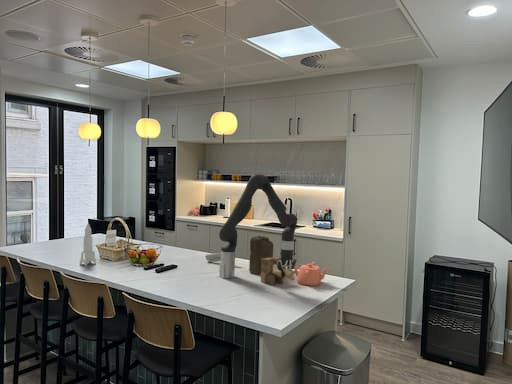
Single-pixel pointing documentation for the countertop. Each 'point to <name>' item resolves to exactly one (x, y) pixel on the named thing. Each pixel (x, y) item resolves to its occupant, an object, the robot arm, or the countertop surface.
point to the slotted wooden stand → (269, 271)
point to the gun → (214, 257)
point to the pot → (309, 274)
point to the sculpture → (88, 247)
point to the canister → (259, 252)
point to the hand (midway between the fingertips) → (285, 276)
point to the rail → (288, 273)
